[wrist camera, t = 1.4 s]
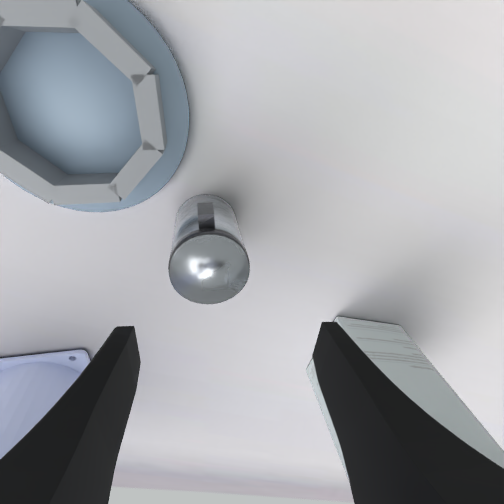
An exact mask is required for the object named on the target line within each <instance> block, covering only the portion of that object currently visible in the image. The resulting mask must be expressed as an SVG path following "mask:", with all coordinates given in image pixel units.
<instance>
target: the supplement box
mask: <svg viewBox="0 0 504 504" xmlns="http://www.w3.org/2000/svg"><path fill="white" fill-rule="evenodd" d="M334 322H337V323H338V324H339V325H340V326H341V327H342V328H343V329H344V331H345V332H346V333H347V334H348V335H349V336H350V337H351V339H352V340H353V341H354V342H355V343H356V344H357V345H358V346H359V348H360V349H361V350H362V351H363V352H364V353H365V354H366V355H367V356H368V357H369V358H370V360H371V361H372V362H373V363H374V364H375V365H376V366H377V367H378V368H379V369H380V370H381V371H382V372H383V373H384V374H385V375H386V376H387V377H388V378H389V379H390V380H391V381H392V382H393V383H394V384H395V385H396V386H397V387H398V388H399V389H400V390H401V391H402V392H404V393H405V394H406V395H407V396H408V397H409V398H410V399H411V400H412V401H414V402H415V403H416V404H417V405H418V406H419V407H421V408H422V409H423V410H424V411H425V412H426V413H428V414H429V415H430V416H431V417H433V418H434V419H435V420H436V421H438V422H439V423H440V424H442V425H443V426H444V427H445V428H447V429H448V430H449V431H451V432H452V433H453V434H455V435H456V436H457V437H459V438H460V439H461V440H463V441H464V442H466V443H467V444H468V445H470V446H471V447H472V448H474V449H475V450H477V451H478V452H480V453H481V454H483V455H484V456H486V457H487V458H489V459H490V460H491V461H493V462H494V463H496V464H497V465H499V466H501V467H502V468H504V451H503V450H502V448H501V447H500V446H499V445H498V444H497V442H496V441H495V440H494V439H493V438H492V436H491V435H490V434H489V433H488V431H487V430H486V429H485V428H484V427H483V425H482V424H481V423H480V422H479V421H478V419H477V418H476V417H475V416H474V415H473V413H472V412H471V411H470V410H469V408H468V407H467V406H466V405H465V404H464V402H463V401H462V400H461V399H460V398H459V396H458V395H457V394H456V393H455V391H454V390H453V389H452V388H451V387H450V385H449V384H448V383H447V382H446V381H445V379H444V378H443V377H442V376H441V375H440V373H439V372H438V371H437V370H436V368H435V367H434V366H433V365H432V364H431V362H430V361H429V360H428V359H427V358H426V356H425V355H424V354H423V353H422V351H421V350H420V349H419V348H418V347H417V345H416V344H415V343H414V342H413V340H412V339H411V338H410V337H409V336H408V334H407V333H406V332H405V331H404V329H403V328H402V327H401V326H400V325H394V324H387V323H380V322H373V321H366V320H359V319H352V318H345V317H338V316H337V317H336V318H335V320H334ZM307 374H308V377H309V379H310V382H311V384H312V387H313V390H314V392H315V395H316V398H317V400H318V403H319V405H320V408H321V410H322V413H323V415H324V418H325V421H326V423H327V426H328V429H329V431H330V434H331V436H332V439H333V441H334V444H335V447H336V449H337V452H338V455H339V457H340V460H341V462H342V465H343V467H344V470H345V472H346V475H347V478H348V480H349V477H348V473H347V470H346V466H345V462H344V458H343V454H342V450H341V447H340V444H339V440H338V437H337V434H336V432H335V429H334V426H333V423H332V420H331V417H330V414H329V412H328V409H327V406H326V403H325V400H324V397H323V394H322V392H321V389H320V386H319V383H318V379H317V375H316V370H315V366H314V361H313V358H312V360H311V362H310V364H309V366H308V368H307ZM349 483H350V482H349Z"/></svg>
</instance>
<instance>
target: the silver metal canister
mask: <svg viewBox="0 0 504 504" xmlns="http://www.w3.org/2000/svg"><path fill="white" fill-rule="evenodd" d="M249 268H250V265H249V259H248V255H247V252H246V249H245V247H244V244H243V241H242V237H241V234H240V230H239V227H238V223H237V220H236V216H235V213H234V211H233V209H232V207H231V206H230V205H229V204H228V203H227V202H226V201H225V200H223V199H221V198H219V197H217V196H214V195H198V196H195V197H192V198H190V199H189V200H187V201H186V202H185V203H184V204H183V205H182V206H181V207H180V209H179V210H178V213H177V216H176V222H175V229H174V237H173V245H172V252H171V255H170V260H169V277H170V281H171V283H172V285H173V287H174V289H175V290H176V291H177V292H178V293H179V294H180V295H181V296H183V297H184V298H186V299H188V300H190V301H192V302H196V303H201V304H215V303H220V302H223V301H226V300H228V299H230V298H232V297H234V296H235V295H236V294H238V293H239V292H240V291H241V290H242V289H243V287H244V286H245V284H246V282H247V280H248V277H249V270H250V269H249Z"/></svg>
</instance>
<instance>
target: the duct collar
mask: <svg viewBox="0 0 504 504" xmlns="http://www.w3.org/2000/svg"><path fill="white" fill-rule="evenodd" d="M188 130H189V106H188V99H187V93H186V89H185V85H184V82H183V78H182V75H181V73H180V70H179V68H178V65H177V63H176V61H175V59H174V57H173V55H172V53H171V51H170V50H169V48H168V46H167V45H166V43H165V42H164V40H163V39H162V37H161V36H160V34H159V33H158V32H157V31H156V29H155V28H154V27H153V26H152V25H151V23H150V22H149V21H148V20H147V19H146V17H145V16H144V15H143V14H142V13H140V12H139V11H138V10H137V9H136V8H135V7H134V6H133V5H132V4H131V3H130V2H129V1H127V0H0V173H1V174H3V175H4V176H5V177H6V178H7V179H9V180H10V181H12V182H13V183H14V184H16V185H17V186H19V187H20V188H22V189H23V190H25V191H27V192H29V193H30V194H32V195H34V196H36V197H38V198H40V199H42V200H44V201H45V202H47V203H48V204H49V203H52V204H54V205H58V206H61V207H64V208H69V209H73V210H78V211H87V212H108V211H116V210H121V209H125V208H129V207H131V206H134V205H137V204H139V203H141V202H143V201H145V200H147V199H148V198H150V197H151V196H153V195H154V194H155V193H157V192H158V191H159V190H160V189H161V188H162V187H163V186H164V185H165V184H166V183H167V182H168V181H169V180H170V178H171V177H172V176H173V174H174V173H175V171H176V169H177V167H178V166H179V164H180V162H181V159H182V157H183V154H184V151H185V147H186V143H187V139H188Z"/></svg>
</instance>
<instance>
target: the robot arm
mask: <svg viewBox="0 0 504 504" xmlns="http://www.w3.org/2000/svg"><path fill="white" fill-rule="evenodd" d="M72 356H74V357H72ZM313 361H314V366H315V370H316V375H317V379H318V383H319V386H320V389H321V392H322V394H323V397H324V400H325V403H326V406H327V409H328V412H329V414H330V417H331V420H332V423H333V426H334V429H335V432H336V434H337V437H338V440H339V444H340V447H341V450H342V454H343V458H344V462H345V466H346V470H347V473H348V477H349V482H350V486H351V490H352V494H353V499H354V503H355V504H504V468H502V467H501V466H499V465H497V464H496V463H494V462H493V461H491V460H490V459H489V458H487V457H486V456H484V455H483V454H481V453H480V452H478V451H477V450H475V449H474V448H472V447H471V446H470V445H468V444H467V443H466V442H464V441H463V440H461V439H460V438H459V437H457V436H456V435H455V434H453V433H452V432H451V431H449V430H448V429H447V428H445V427H444V426H443V425H442V424H440V423H439V422H438V421H436V420H435V419H434V418H433V417H431V416H430V415H429V414H428V413H426V412H425V411H424V410H423V409H422V408H421V407H419V406H418V405H417V404H416V403H415V402H414V401H412V400H411V399H410V398H409V397H408V396H407V395H406V394H405V393H404V392H402V391H401V390H400V389H399V388H398V387H397V386H396V385H395V384H394V383H393V382H392V381H391V380H390V379H389V378H388V377H387V376H386V375H385V374H384V373H383V372H382V371H381V370H380V369H379V368H378V367H377V366H376V365H375V364H374V363H373V362H372V361H371V360H370V358H369V357H368V356H367V355H366V354H365V353H364V352H363V351H362V350H361V349H360V348H359V346H358V345H357V344H356V343H355V342H354V341H353V340H352V339H351V337H350V336H349V335H348V334H347V333H346V332H345V331H344V329H343V328H342V327H341V326H340V325H339V324H338V323H337V322H322V324H321V328H320V331H319V335H318V338H317V342H316V345H315V349H314V352H313ZM140 363H141V362H140V356H139V351H138V345H137V339H136V334H135V328H134V326H122V327H116V328H115V329H114V330H113V331H112V333H111V334H110V336H109V337H108V338H107V340H106V341H105V343H104V344H103V345H102V347H101V348H100V350H99V351H98V352H97V354H96V355H95V356H94V358H93V359H92V360H91V361H90V359H89V356H88V353H87V352H86V351H84V350H73V351H64V352H55V353H46V354H37V355H28V356H19V357H10V358H1V359H0V504H108V501H109V496H110V490H111V485H112V480H113V475H114V469H115V465H116V461H117V457H118V453H119V450H120V446H121V442H122V439H123V435H124V432H125V428H126V425H127V421H128V418H129V414H130V410H131V407H132V403H133V400H134V396H135V392H136V388H137V382H138V376H139V369H140Z"/></svg>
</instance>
